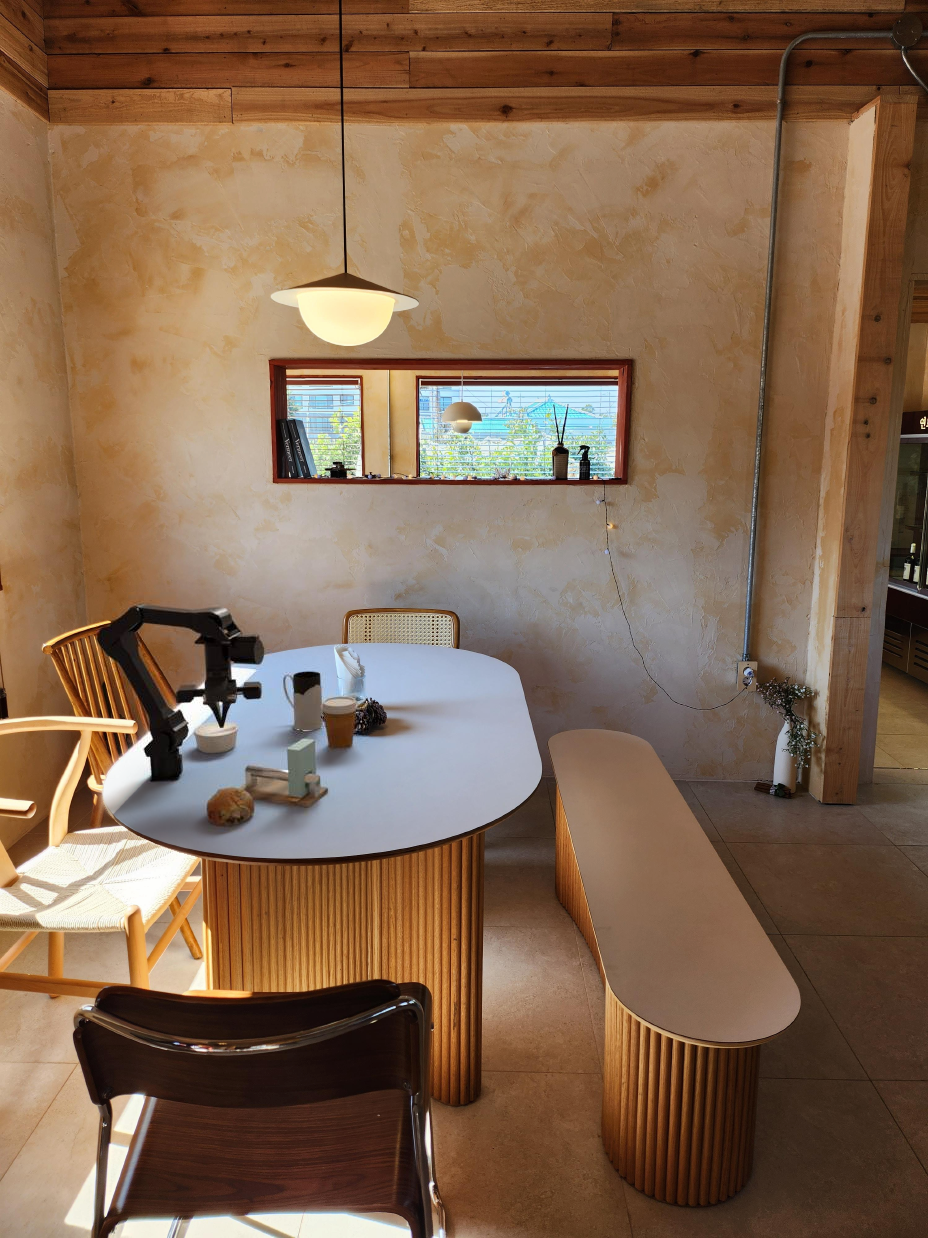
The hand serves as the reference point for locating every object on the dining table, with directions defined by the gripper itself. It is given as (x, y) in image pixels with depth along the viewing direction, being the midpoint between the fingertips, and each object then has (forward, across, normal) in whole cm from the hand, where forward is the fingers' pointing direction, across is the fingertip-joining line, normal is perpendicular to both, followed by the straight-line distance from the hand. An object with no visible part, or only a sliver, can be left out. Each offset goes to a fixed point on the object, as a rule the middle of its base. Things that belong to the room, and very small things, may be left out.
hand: (221, 727), depth 194 cm
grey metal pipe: (+12, +14, -11) cm, 21 cm away
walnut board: (+13, +13, -11) cm, 21 cm away
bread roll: (+13, +3, -21) cm, 25 cm away
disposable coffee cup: (+13, +28, +19) cm, 36 cm away
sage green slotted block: (+11, +18, -14) cm, 25 cm away
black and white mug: (+13, +18, +38) cm, 44 cm away
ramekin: (+13, -4, +23) cm, 27 cm away
